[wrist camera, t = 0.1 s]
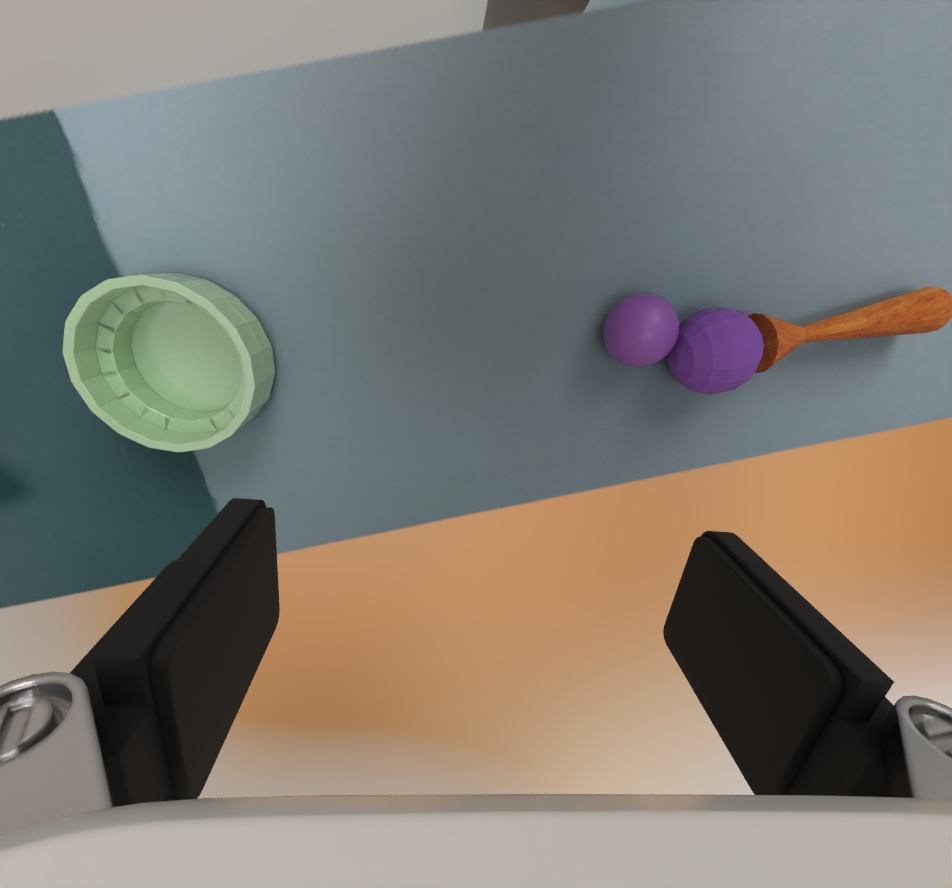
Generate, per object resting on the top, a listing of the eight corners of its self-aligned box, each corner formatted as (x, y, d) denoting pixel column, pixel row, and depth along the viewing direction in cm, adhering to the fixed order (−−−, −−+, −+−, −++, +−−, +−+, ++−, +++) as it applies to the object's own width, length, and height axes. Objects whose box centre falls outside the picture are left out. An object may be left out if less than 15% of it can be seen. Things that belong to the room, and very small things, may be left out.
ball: (584, 311, 33) (607, 320, 29) (647, 278, 33) (680, 281, 28) (608, 370, 35) (633, 386, 30) (667, 339, 35) (702, 352, 30)
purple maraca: (952, 361, 32) (692, 415, 31) (876, 335, 37) (649, 380, 36) (993, 277, 29) (705, 332, 28) (905, 260, 34) (656, 306, 33)
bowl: (75, 324, 31) (19, 333, 27) (208, 241, 30) (170, 238, 26) (187, 453, 35) (153, 479, 31) (308, 385, 34) (290, 403, 30)
